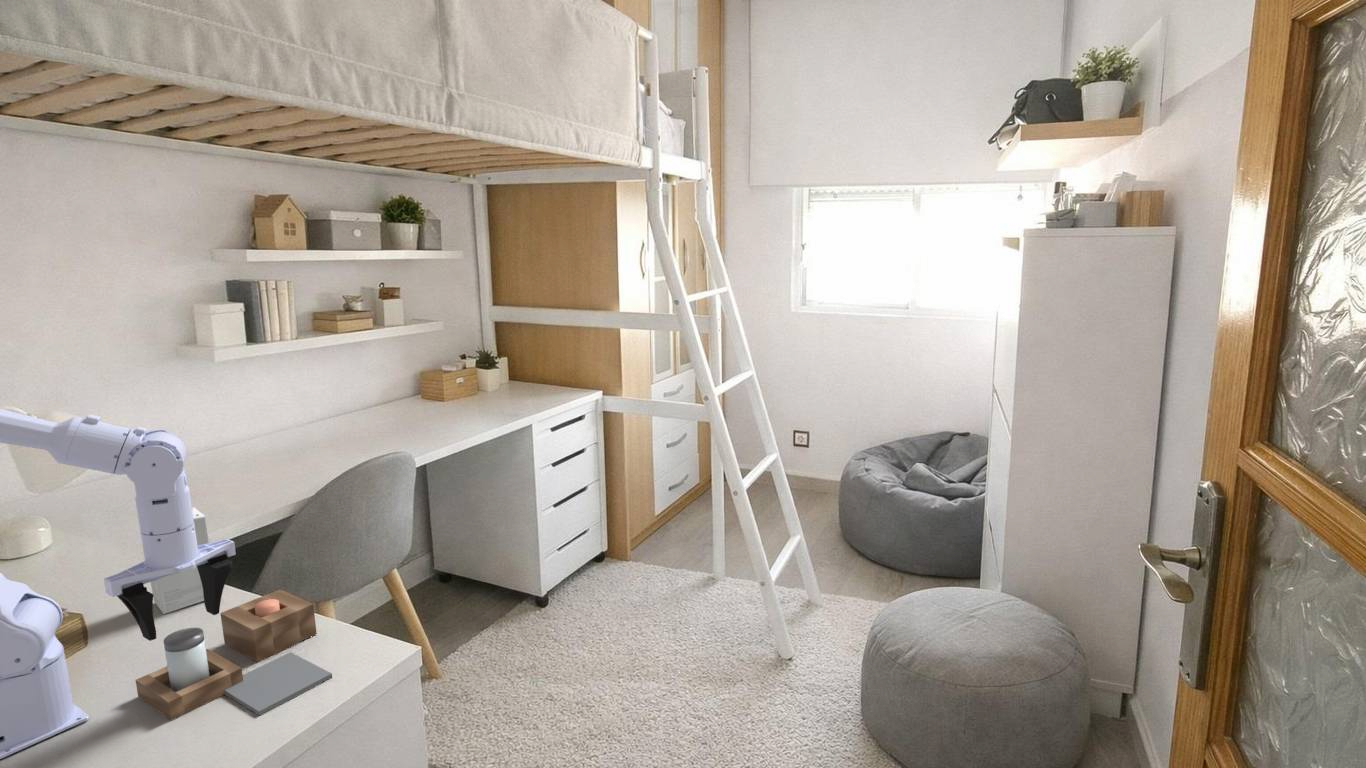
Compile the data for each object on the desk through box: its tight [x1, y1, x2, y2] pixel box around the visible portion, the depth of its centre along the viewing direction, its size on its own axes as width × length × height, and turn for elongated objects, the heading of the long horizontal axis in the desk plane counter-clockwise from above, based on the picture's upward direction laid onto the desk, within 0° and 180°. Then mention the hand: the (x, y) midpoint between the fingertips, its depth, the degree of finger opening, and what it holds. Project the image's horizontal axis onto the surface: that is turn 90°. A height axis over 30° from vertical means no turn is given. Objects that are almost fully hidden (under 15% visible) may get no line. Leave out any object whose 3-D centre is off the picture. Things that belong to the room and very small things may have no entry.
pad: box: [224, 651, 333, 716], centre depth 104 cm, size 10×10×1 cm
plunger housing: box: [219, 589, 317, 663], centre depth 115 cm, size 9×9×5 cm
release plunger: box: [255, 599, 280, 618], centre depth 114 cm, size 3×3×5 cm
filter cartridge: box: [163, 627, 210, 692], centre depth 102 cm, size 4×4×8 cm
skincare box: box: [150, 506, 210, 615], centre depth 126 cm, size 8×6×15 cm
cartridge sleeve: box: [135, 648, 244, 721], centre depth 102 cm, size 9×9×2 cm
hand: (182, 624), depth 100 cm, fingers open, 7 cm apart
